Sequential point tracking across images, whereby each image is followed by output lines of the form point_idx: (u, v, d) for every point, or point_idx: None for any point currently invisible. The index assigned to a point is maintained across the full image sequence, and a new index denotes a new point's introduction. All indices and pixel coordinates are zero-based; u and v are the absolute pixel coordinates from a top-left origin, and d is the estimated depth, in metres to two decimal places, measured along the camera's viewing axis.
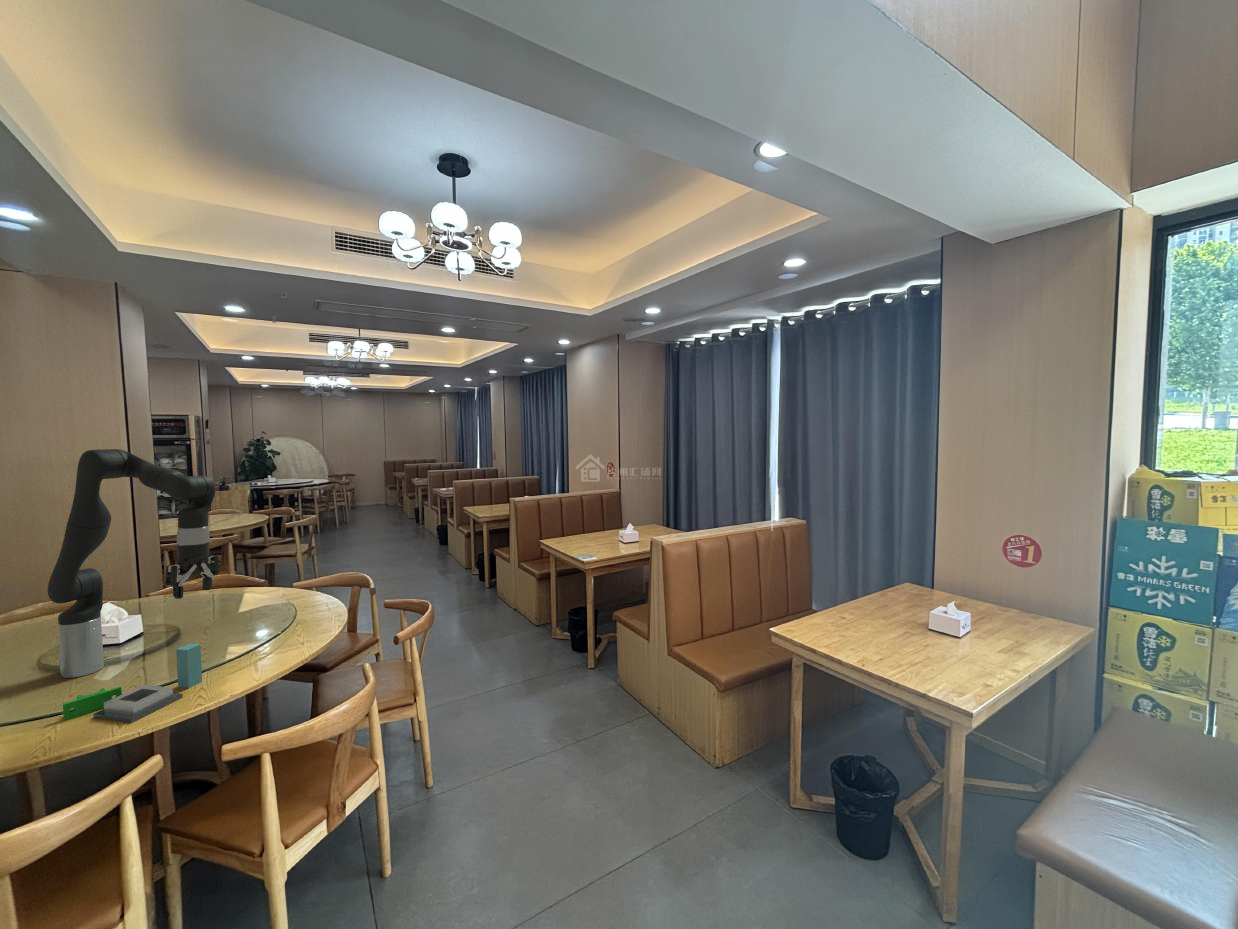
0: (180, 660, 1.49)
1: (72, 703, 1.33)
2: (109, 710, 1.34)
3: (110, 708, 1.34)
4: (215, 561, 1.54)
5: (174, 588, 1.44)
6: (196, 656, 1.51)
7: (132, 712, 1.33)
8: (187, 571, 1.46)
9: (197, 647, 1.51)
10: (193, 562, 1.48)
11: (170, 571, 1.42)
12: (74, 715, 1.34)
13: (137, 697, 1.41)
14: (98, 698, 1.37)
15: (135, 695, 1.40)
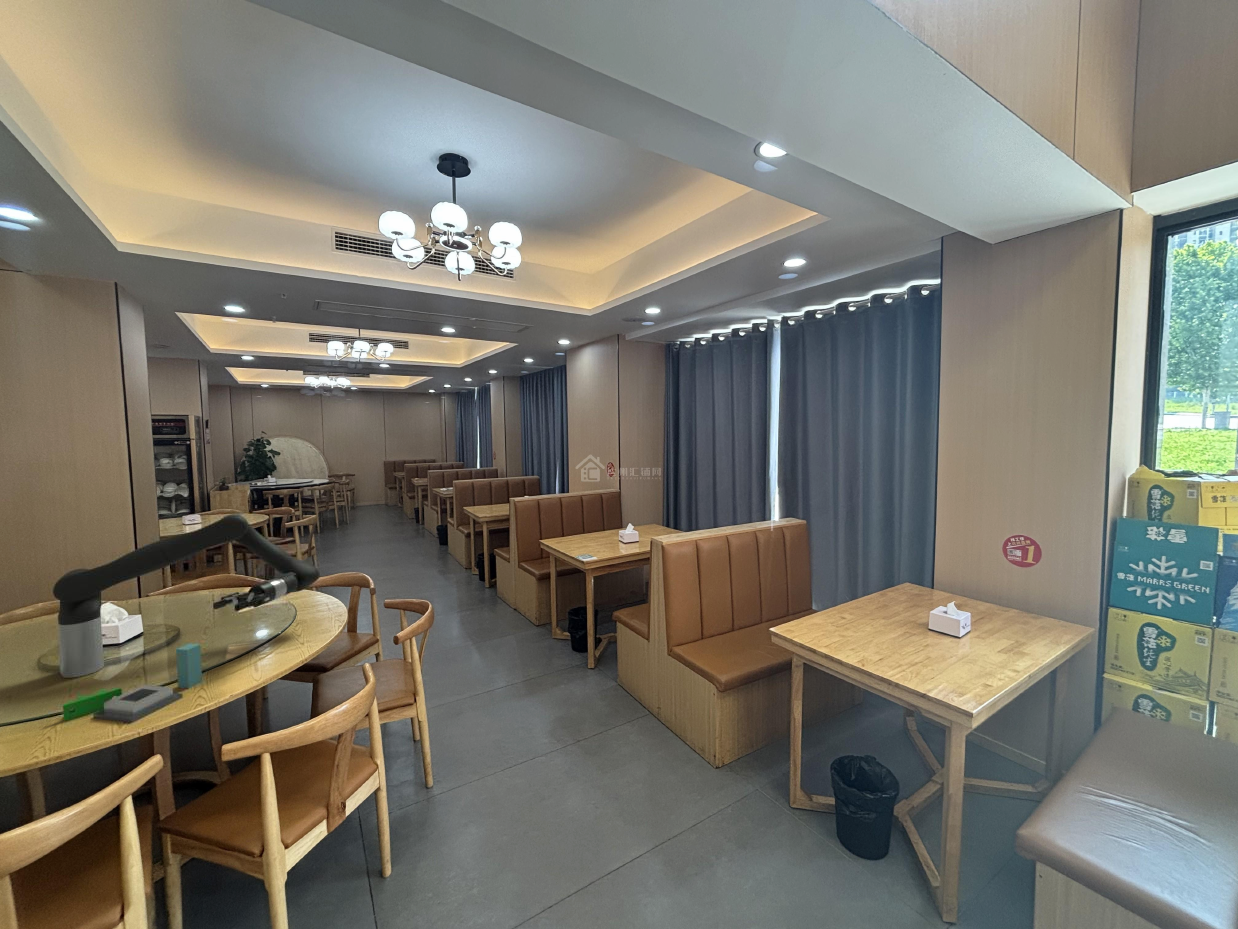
0: (180, 660, 1.49)
1: (72, 704, 1.33)
2: (109, 710, 1.34)
3: (110, 708, 1.34)
4: None
5: (247, 604, 1.64)
6: (196, 656, 1.51)
7: (132, 712, 1.33)
8: None
9: (197, 647, 1.51)
10: None
11: (265, 600, 1.69)
12: (74, 716, 1.33)
13: (137, 697, 1.41)
14: (99, 699, 1.37)
15: (135, 695, 1.40)
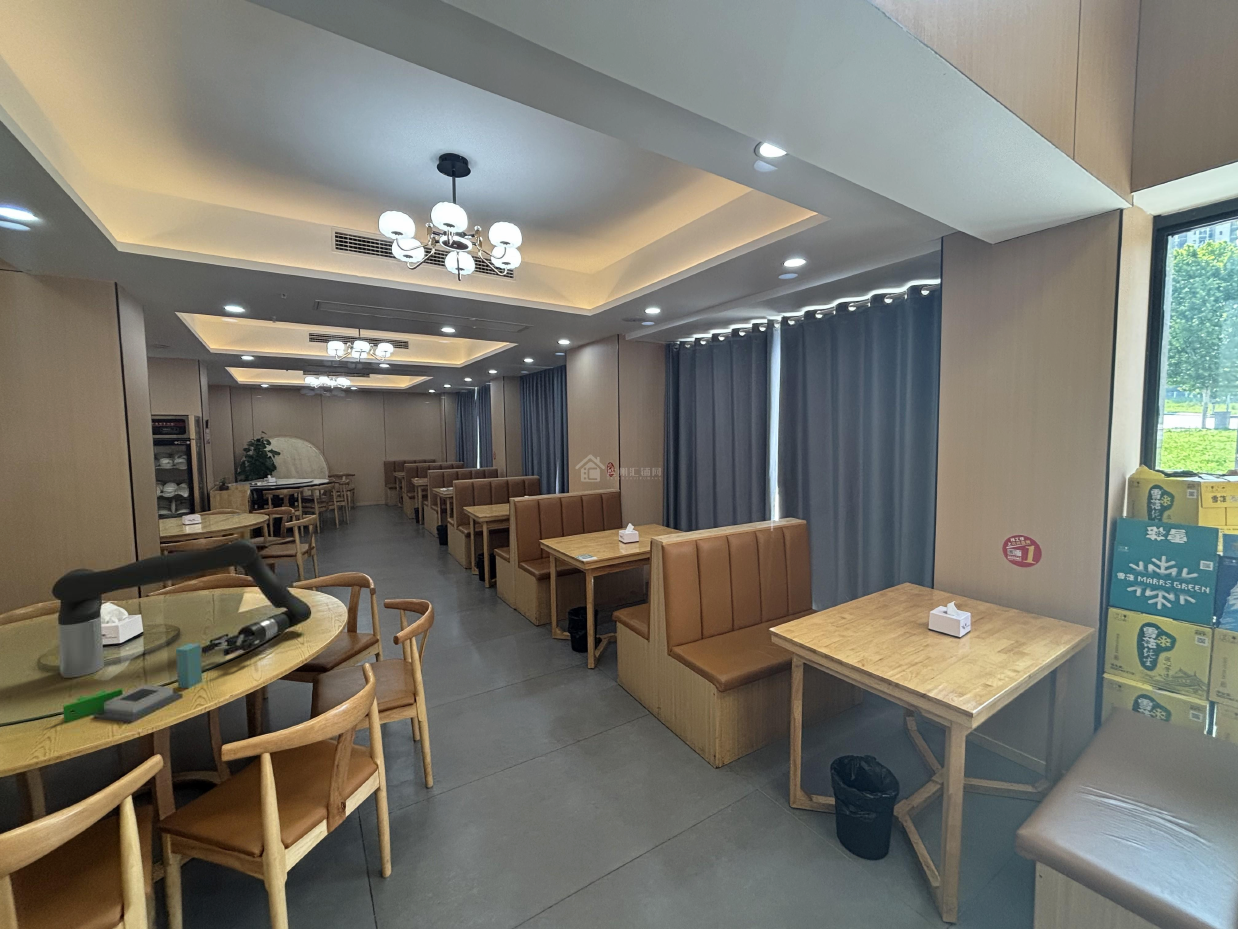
0: (180, 660, 1.49)
1: (73, 705, 1.32)
2: (109, 710, 1.34)
3: (110, 708, 1.34)
4: None
5: (236, 648, 1.61)
6: (196, 656, 1.51)
7: (132, 712, 1.33)
8: None
9: (197, 647, 1.51)
10: None
11: (255, 643, 1.66)
12: (75, 717, 1.33)
13: (137, 697, 1.41)
14: (99, 700, 1.36)
15: (135, 695, 1.40)
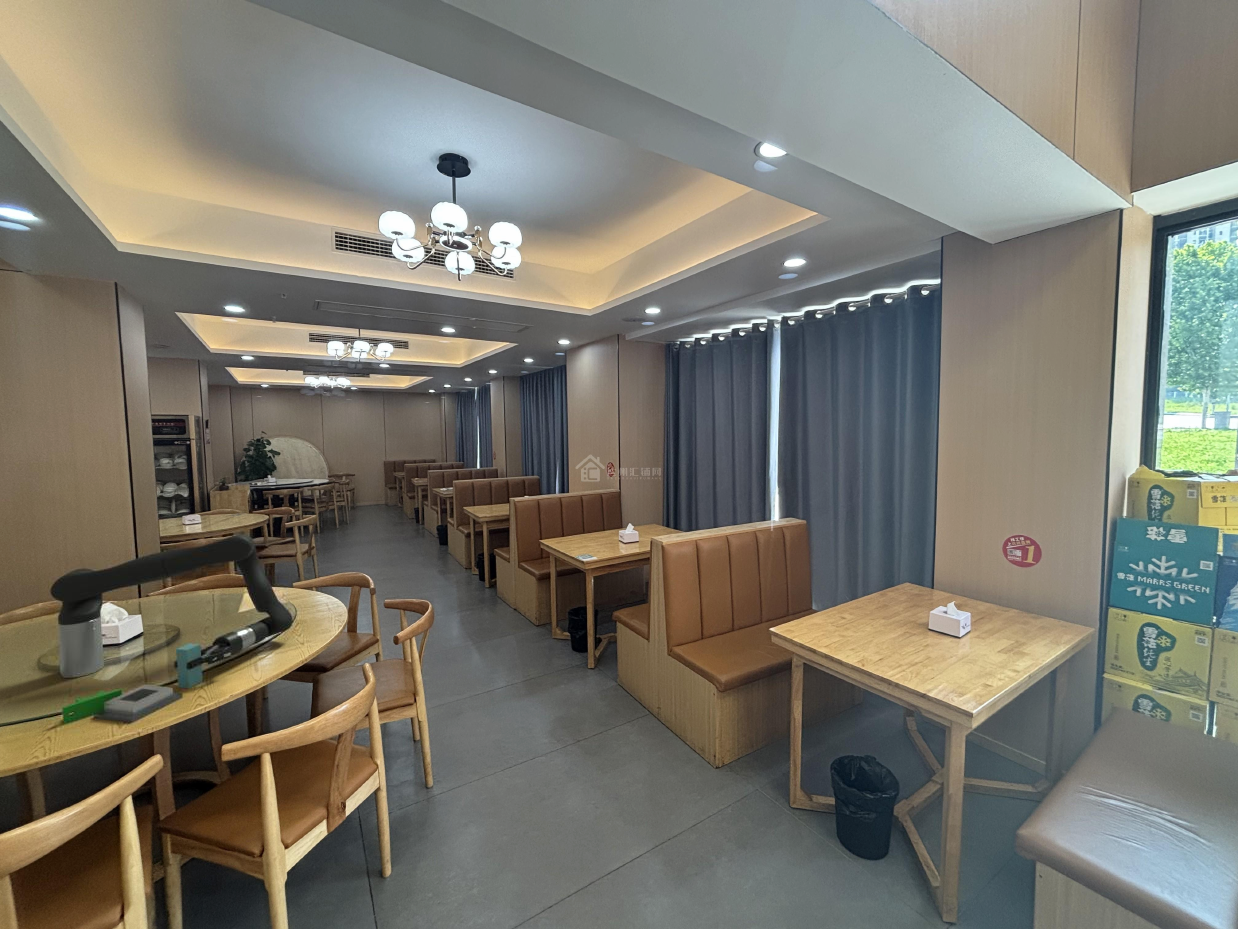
0: (180, 660, 1.49)
1: (72, 706, 1.32)
2: (109, 710, 1.34)
3: (110, 708, 1.34)
4: None
5: (201, 661, 1.51)
6: (196, 656, 1.51)
7: (132, 712, 1.33)
8: (214, 658, 1.56)
9: (197, 647, 1.51)
10: None
11: (225, 656, 1.56)
12: (74, 718, 1.32)
13: (137, 697, 1.41)
14: (98, 701, 1.36)
15: (135, 695, 1.40)
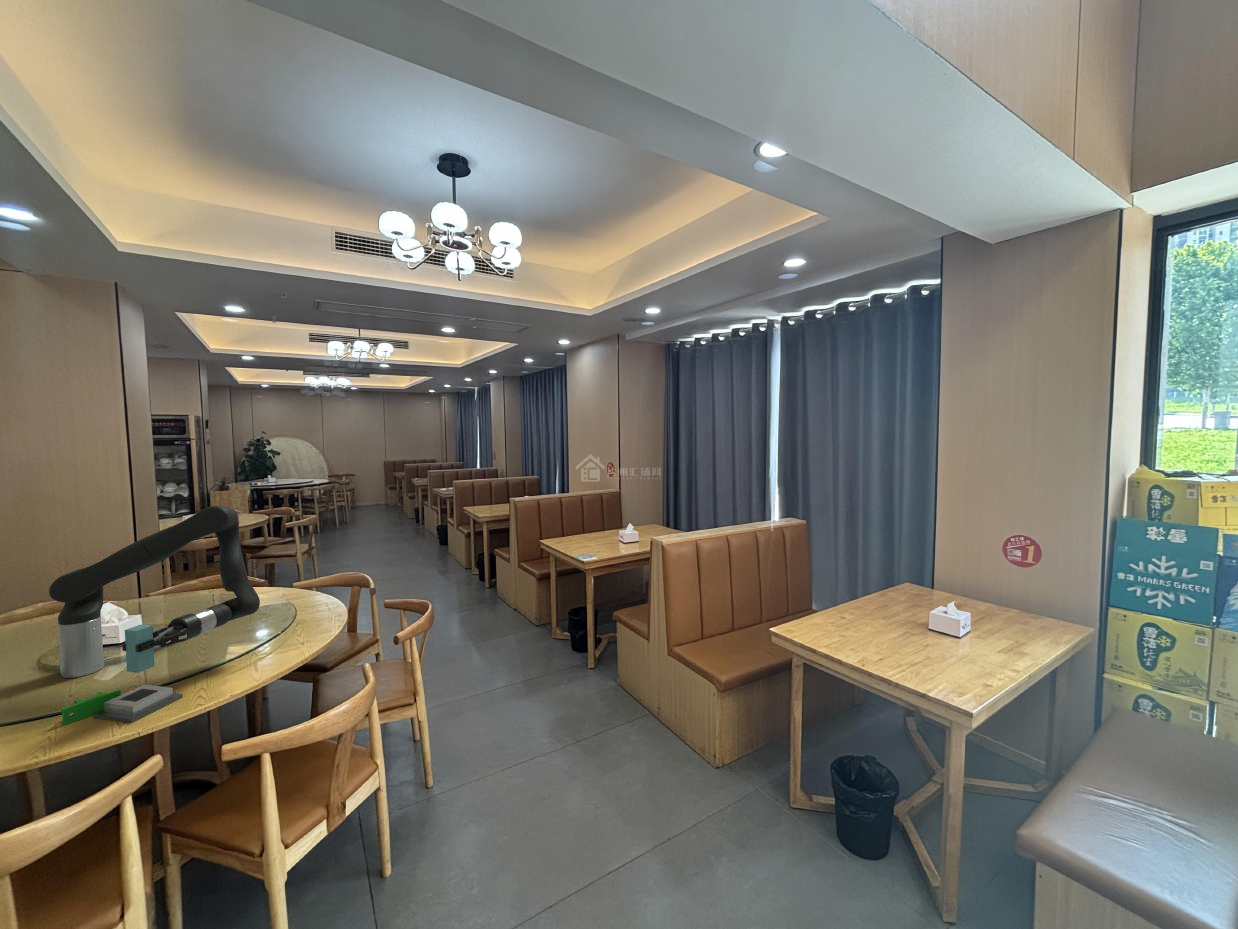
0: (129, 642, 1.36)
1: (72, 707, 1.31)
2: (109, 710, 1.34)
3: (110, 708, 1.34)
4: None
5: (152, 643, 1.39)
6: (147, 638, 1.38)
7: (132, 712, 1.33)
8: (169, 641, 1.44)
9: (148, 628, 1.39)
10: None
11: (180, 638, 1.43)
12: (74, 719, 1.32)
13: (137, 697, 1.41)
14: (98, 702, 1.36)
15: (135, 695, 1.40)
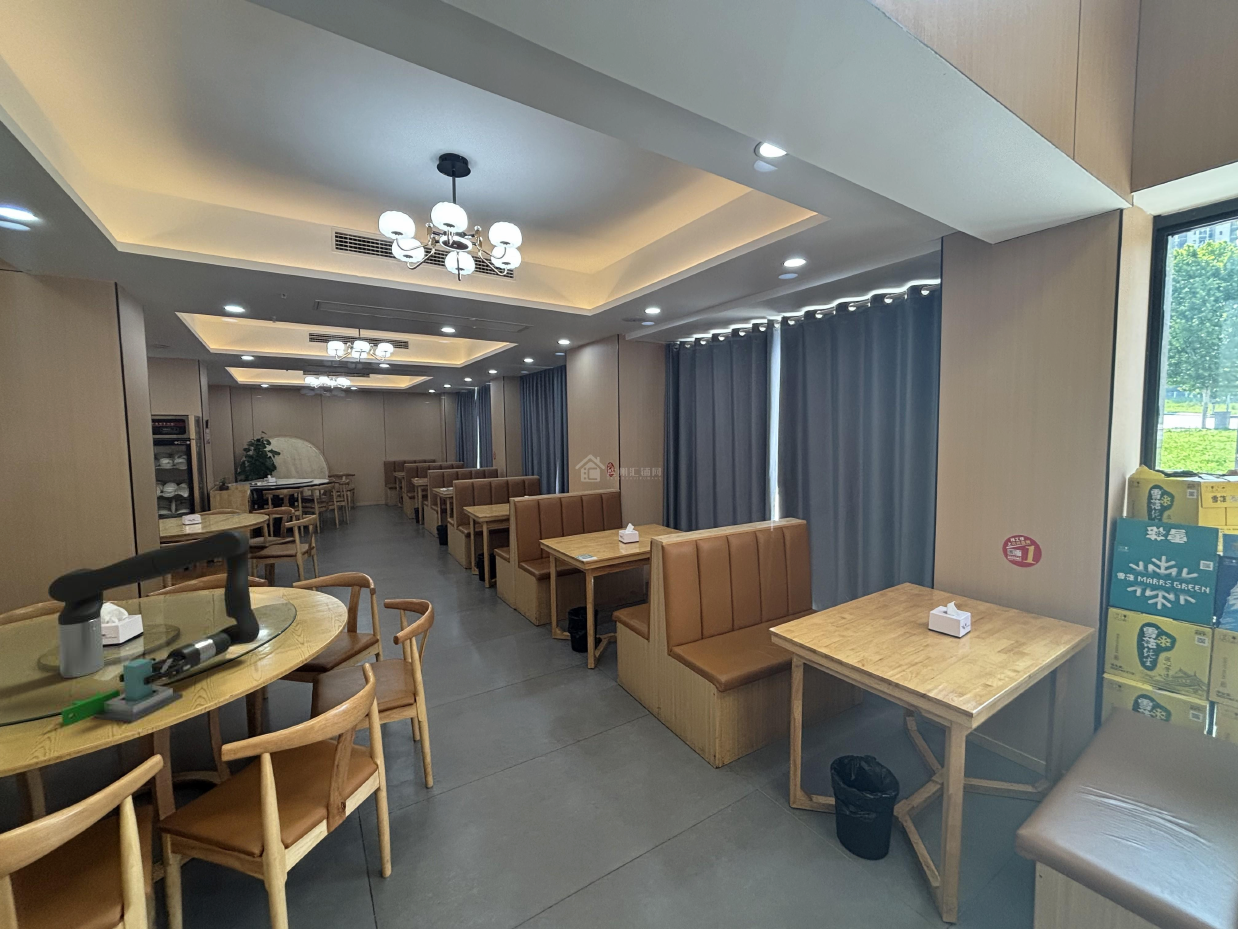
0: (128, 677, 1.36)
1: (72, 708, 1.31)
2: (109, 710, 1.34)
3: (110, 708, 1.34)
4: None
5: (160, 675, 1.39)
6: (145, 673, 1.38)
7: (132, 712, 1.33)
8: None
9: (147, 663, 1.39)
10: None
11: (185, 669, 1.44)
12: (74, 720, 1.31)
13: None
14: (98, 702, 1.35)
15: None
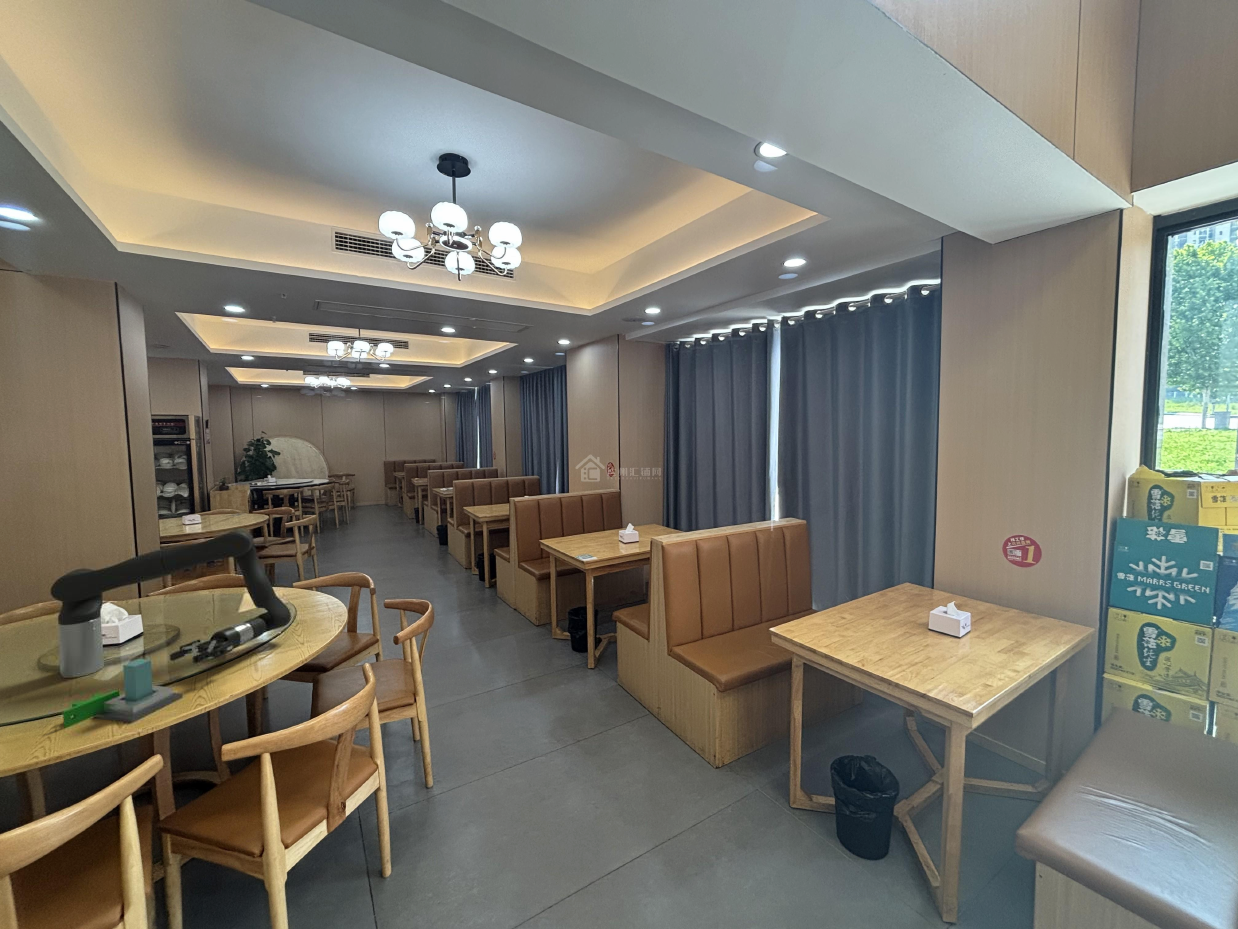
0: (128, 677, 1.36)
1: (74, 709, 1.30)
2: (109, 710, 1.34)
3: (110, 708, 1.34)
4: None
5: (207, 655, 1.52)
6: (145, 673, 1.38)
7: (132, 712, 1.33)
8: None
9: (147, 663, 1.39)
10: None
11: (228, 649, 1.57)
12: (76, 721, 1.31)
13: None
14: (98, 703, 1.35)
15: None
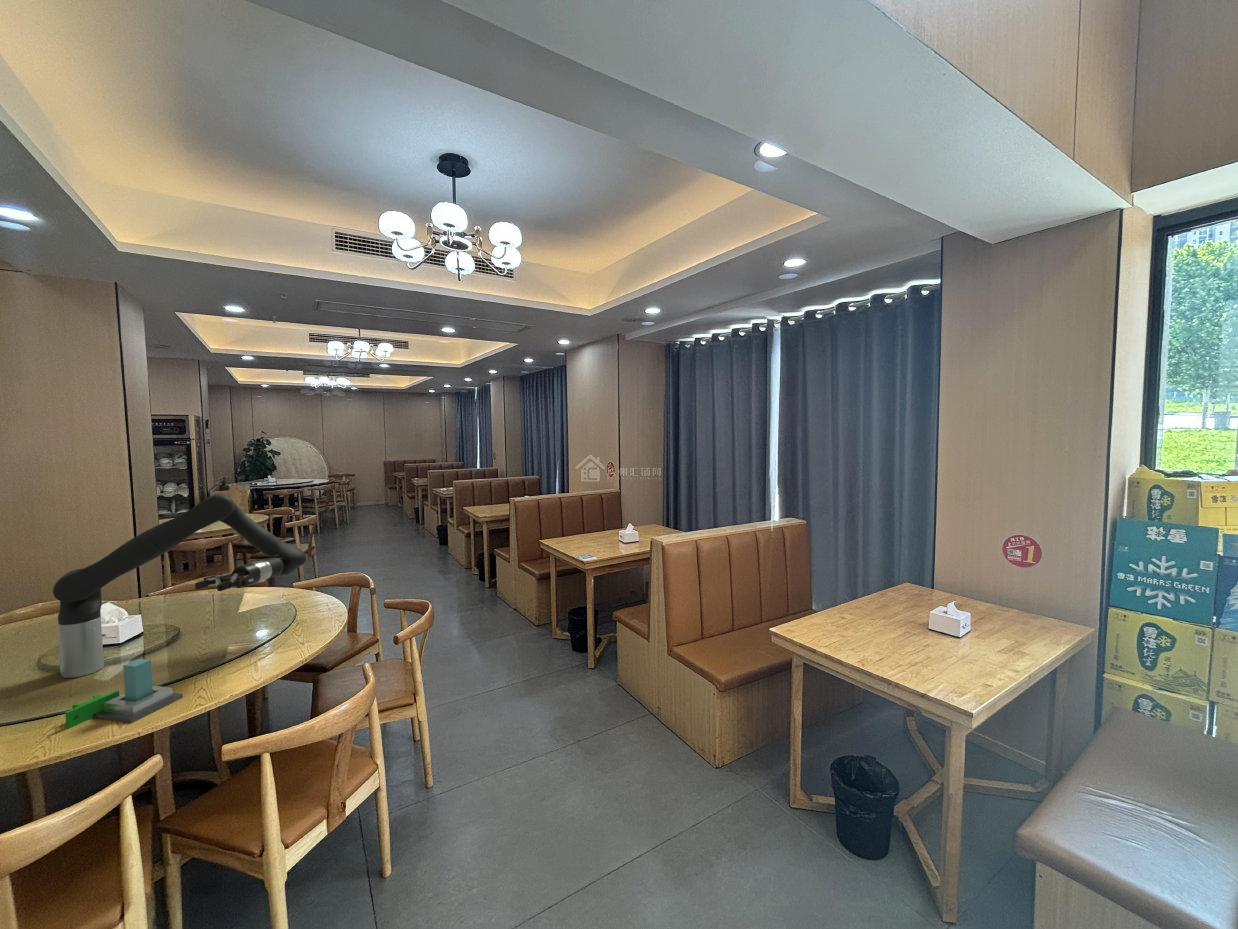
0: (128, 677, 1.36)
1: (76, 710, 1.30)
2: (109, 710, 1.34)
3: (110, 708, 1.34)
4: None
5: (230, 584, 1.60)
6: (145, 673, 1.38)
7: (132, 712, 1.33)
8: None
9: (147, 663, 1.39)
10: None
11: (249, 581, 1.65)
12: (78, 722, 1.30)
13: None
14: (99, 703, 1.35)
15: None
